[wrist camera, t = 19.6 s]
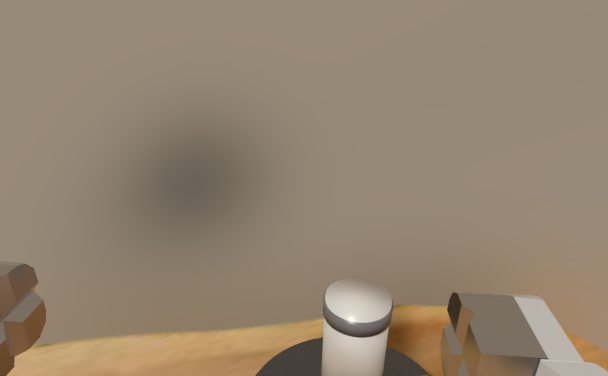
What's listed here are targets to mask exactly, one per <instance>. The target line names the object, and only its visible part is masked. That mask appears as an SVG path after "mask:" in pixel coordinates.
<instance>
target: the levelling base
mask: <svg viewBox="0 0 608 376" xmlns="http://www.w3.org/2000/svg"><path fill="white" fill-rule="evenodd" d="M322 349H323V338H318V339H312V340H309V341H305V342H302V343H299V344H297V345H294V346H292V347H290V348H288V349H286V350H284V351H282V352H281V353H279V354H278V355H276V356H275V357H273V358H272V359H271V360H270V361H269V362H267V363H266V364H265V365H264V366H263V367H262V369H261V370H260V371H259V372H258V373H257V374H256V376H321V369H322ZM383 376H430V375H429V374H428V373H427V372H426V371H425V370H424V369H423V368H421V367H420V366H419V365H418V364H416V363H415V362H414V361H412V360H411V359H409V358H408V357H406V356H405V355H403V354H401V353H399V352H397V351H396V350H394V349H392V348H389V347H387V346H386V353H385V361H384V369H383Z"/></svg>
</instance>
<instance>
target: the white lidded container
mask: <svg viewBox="0 0 608 376" xmlns="http://www.w3.org/2000/svg"><path fill="white" fill-rule="evenodd" d="M392 310H393V301H392V298H391V296H390V294H389V293H388V291H387V290H386V289H385V288H383V287H382V286H381V285H379V284H377V283H375V282H373V281H370V280H366V279H360V278H347V279H342V280H339V281H337V282H335V283H333V284H332V285H330V286H329V287H328V289H327V290H326V292H325V294H324V303H323V315H324V329H323V349H322V369H321V376H383V369H384V361H385V353H386V345H387V337H388V330H389V325H390V323H391V317H392Z"/></svg>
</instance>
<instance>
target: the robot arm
mask: <svg viewBox="0 0 608 376" xmlns="http://www.w3.org/2000/svg"><path fill="white" fill-rule="evenodd" d="M37 284H38V280H37V277H36V274H35V271H34V268H32V267H30V266H29V265H27V264H23V263H11V262H0V376H6V375H7V374H8V373H9V372H10V371H11V370H12V369H13V367H14V357H15V356H17V355H19V354H21V353H23V352H24V351H26V350H28V349H30V348H31V347H32V346H33V344H34V343H35V342H36V341H37V340H38V338H39V337H40V335H41V333H42V330H43V327H44V325H45V322H46V309H45V305H44V301H43V300H42V299H41V298H40V297H39V296H38V295H37V294H36V293H35V292H34V289H35V287H36V285H37ZM447 311H448V314H449V317H450V320H451V323H450V324H448V325H447V326H446V327H445V328H444V329H443V335H442V341H441V360H442V367H443V372H444V376H608V372H607V371H606V370H604V369H603V368H601V367H600V366H598V365H596V364H595V363H585V362H584V360H583V359H582V357H581V356H580V354H579V353H578V351H577V350H576V348H575V347H574V345H573V344H572V342H571V341H570V339H569V338H568V336H567V335H566V333H565V332H564V331H563V329H562V328H561V326H560V325H559V323H558V322H557V320H556V319H555V317H554V316H553V314H552V313H551V311H550V310H549V308H548V307H547V305H546V304H545V302H544V301H543V299H541V298H540V297H538V296H533V295H493V294H474V293H458V292H453V293H452V295H451V297H450V299H449V304H448V308H447Z"/></svg>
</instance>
